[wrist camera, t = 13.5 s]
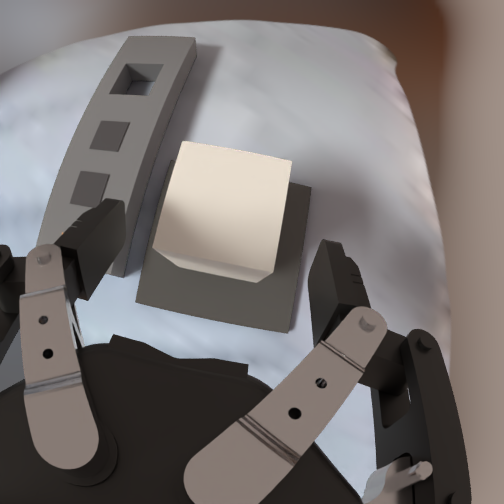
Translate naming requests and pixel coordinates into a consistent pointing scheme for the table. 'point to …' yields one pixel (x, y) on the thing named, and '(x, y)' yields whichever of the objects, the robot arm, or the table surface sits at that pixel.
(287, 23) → the table surface
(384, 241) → the table surface
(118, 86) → the power strip
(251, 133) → the table surface
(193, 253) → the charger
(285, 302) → the mat
